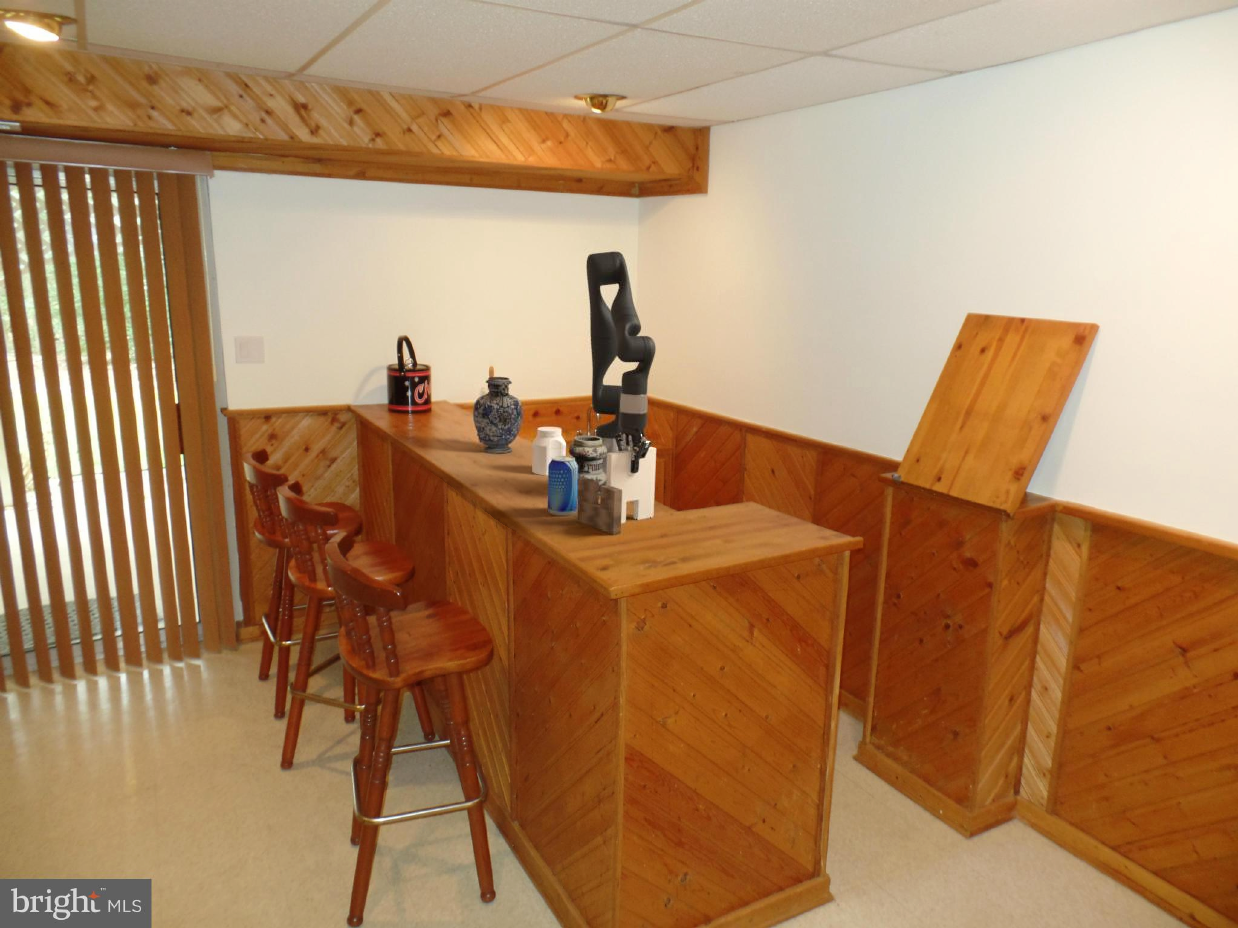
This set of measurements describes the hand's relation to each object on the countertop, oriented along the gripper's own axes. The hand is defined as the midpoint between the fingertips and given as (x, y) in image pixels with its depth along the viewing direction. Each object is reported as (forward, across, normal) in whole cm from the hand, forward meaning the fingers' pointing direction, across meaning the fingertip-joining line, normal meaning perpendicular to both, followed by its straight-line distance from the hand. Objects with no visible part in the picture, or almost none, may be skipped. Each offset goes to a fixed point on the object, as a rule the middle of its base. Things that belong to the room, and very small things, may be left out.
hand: (631, 471), depth 234 cm
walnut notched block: (+14, 0, -11) cm, 18 cm away
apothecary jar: (+14, -29, +7) cm, 33 cm away
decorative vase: (+14, -99, +17) cm, 102 cm away
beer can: (+14, -17, -11) cm, 25 cm away
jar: (+14, -61, +14) cm, 64 cm away
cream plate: (+14, 0, 0) cm, 14 cm away
